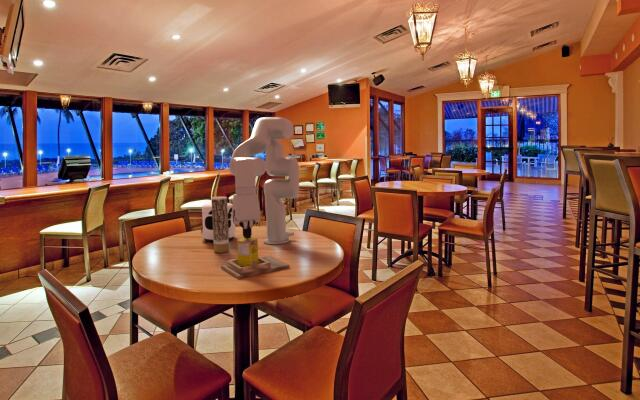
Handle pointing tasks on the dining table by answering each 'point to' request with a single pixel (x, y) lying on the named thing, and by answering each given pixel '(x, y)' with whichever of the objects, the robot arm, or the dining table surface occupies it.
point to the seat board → (254, 267)
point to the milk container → (208, 222)
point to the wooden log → (220, 224)
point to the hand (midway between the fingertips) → (247, 237)
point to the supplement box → (247, 252)
